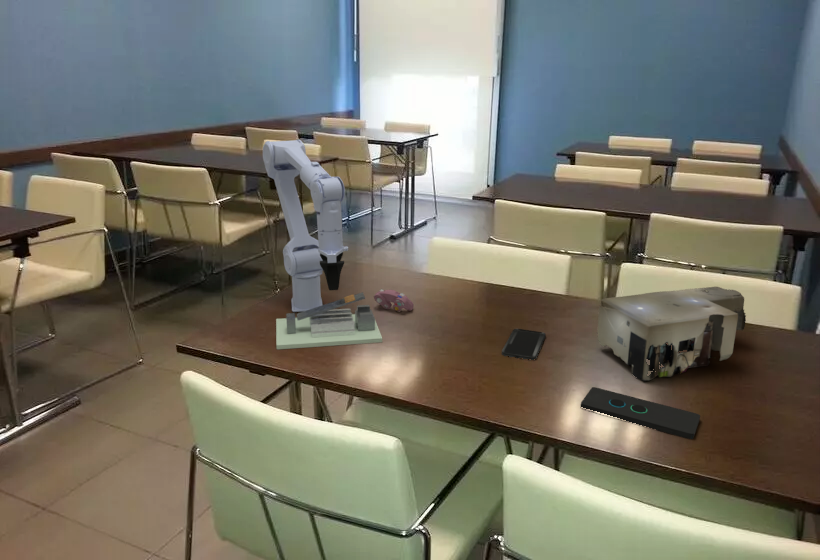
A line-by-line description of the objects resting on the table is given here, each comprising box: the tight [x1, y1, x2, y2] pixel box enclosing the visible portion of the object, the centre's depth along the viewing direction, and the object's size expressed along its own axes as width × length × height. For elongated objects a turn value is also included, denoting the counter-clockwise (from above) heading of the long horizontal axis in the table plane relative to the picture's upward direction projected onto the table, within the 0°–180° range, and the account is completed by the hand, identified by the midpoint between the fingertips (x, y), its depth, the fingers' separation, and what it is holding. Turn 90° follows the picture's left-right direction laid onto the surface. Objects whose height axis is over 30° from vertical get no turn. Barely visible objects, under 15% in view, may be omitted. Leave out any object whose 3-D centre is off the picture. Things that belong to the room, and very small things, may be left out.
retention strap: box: [296, 292, 366, 320], centre depth 152 cm, size 3×16×1 cm, turn 101°
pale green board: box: [275, 313, 383, 350], centre depth 154 cm, size 16×24×1 cm, turn 101°
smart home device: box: [580, 387, 701, 440], centre depth 119 cm, size 8×2×20 cm
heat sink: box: [309, 308, 355, 338], centre depth 153 cm, size 10×10×3 cm
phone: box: [501, 328, 546, 361], centre depth 148 cm, size 8×1×15 cm
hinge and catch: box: [285, 304, 376, 334], centre depth 153 cm, size 6×20×4 cm, turn 101°
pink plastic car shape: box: [373, 288, 414, 312], centre depth 168 cm, size 10×5×7 cm, turn 62°
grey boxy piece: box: [596, 286, 747, 382], centre depth 142 cm, size 18×33×13 cm, turn 107°
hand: (333, 285), depth 154 cm, fingers open, 7 cm apart
